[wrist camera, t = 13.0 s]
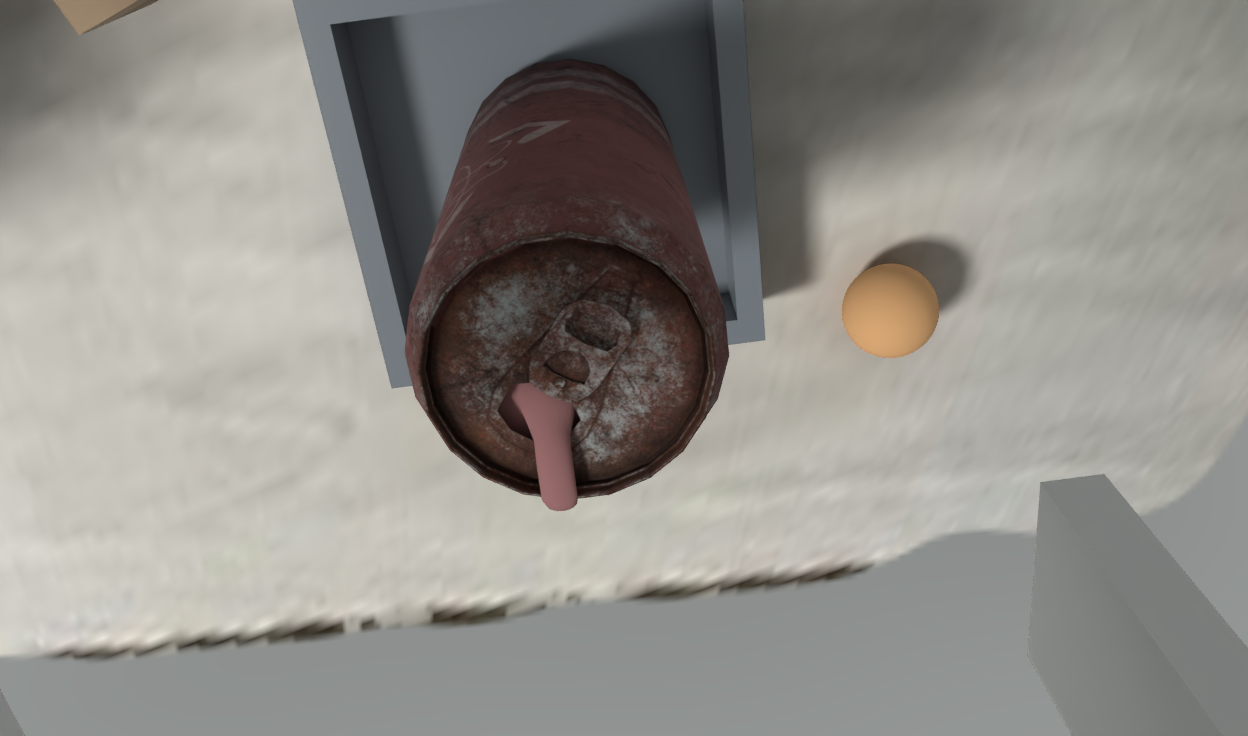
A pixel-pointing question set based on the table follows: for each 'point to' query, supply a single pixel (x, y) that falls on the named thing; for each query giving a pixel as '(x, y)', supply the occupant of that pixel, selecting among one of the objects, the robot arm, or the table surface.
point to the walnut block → (97, 11)
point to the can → (567, 292)
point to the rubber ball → (890, 310)
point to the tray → (472, 69)
